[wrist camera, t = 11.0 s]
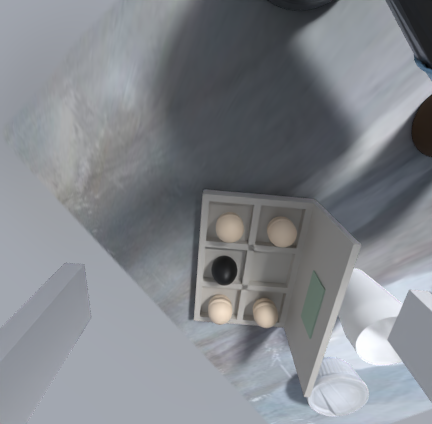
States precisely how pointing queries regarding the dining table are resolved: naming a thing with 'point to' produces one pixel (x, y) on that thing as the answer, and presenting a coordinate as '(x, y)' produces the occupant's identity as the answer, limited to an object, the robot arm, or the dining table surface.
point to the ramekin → (337, 389)
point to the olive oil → (423, 128)
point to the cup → (369, 319)
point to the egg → (224, 270)
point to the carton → (276, 269)
